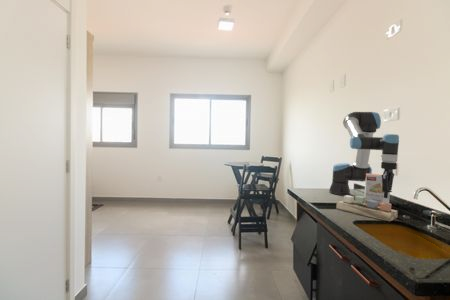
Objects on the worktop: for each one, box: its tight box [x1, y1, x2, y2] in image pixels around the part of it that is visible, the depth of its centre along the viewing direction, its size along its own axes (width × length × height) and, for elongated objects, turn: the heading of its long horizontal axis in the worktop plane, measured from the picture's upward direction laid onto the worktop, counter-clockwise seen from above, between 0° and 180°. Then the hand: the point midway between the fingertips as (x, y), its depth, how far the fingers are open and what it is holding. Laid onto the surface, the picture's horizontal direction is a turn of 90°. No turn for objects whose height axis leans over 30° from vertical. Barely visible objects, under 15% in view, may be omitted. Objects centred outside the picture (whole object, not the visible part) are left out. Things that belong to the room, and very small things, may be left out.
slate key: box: [367, 200, 378, 209], centre depth 162 cm, size 4×4×6 cm
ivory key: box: [343, 195, 355, 204], centre depth 172 cm, size 4×4×6 cm
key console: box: [335, 200, 399, 222], centre depth 165 cm, size 12×30×4 cm, turn 42°
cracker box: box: [363, 173, 384, 207], centre depth 180 cm, size 14×6×21 cm, turn 68°
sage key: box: [354, 195, 366, 206], centre depth 167 cm, size 4×4×6 cm
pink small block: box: [380, 203, 392, 212], centre depth 157 cm, size 4×4×6 cm
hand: (385, 203), depth 156 cm, fingers closed
